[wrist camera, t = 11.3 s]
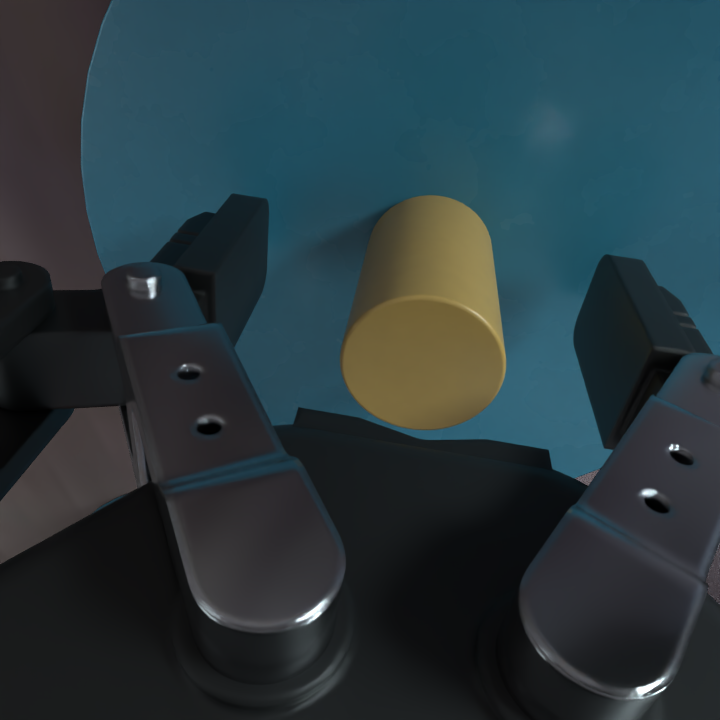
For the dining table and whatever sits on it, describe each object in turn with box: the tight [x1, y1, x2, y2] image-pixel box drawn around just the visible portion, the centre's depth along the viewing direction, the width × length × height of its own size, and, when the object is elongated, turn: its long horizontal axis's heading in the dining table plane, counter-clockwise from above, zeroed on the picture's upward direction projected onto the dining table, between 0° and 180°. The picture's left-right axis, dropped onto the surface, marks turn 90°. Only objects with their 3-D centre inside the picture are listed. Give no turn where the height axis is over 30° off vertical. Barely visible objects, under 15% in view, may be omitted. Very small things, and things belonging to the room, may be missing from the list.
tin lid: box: [81, 0, 720, 478], centre depth 13 cm, size 16×16×6 cm
